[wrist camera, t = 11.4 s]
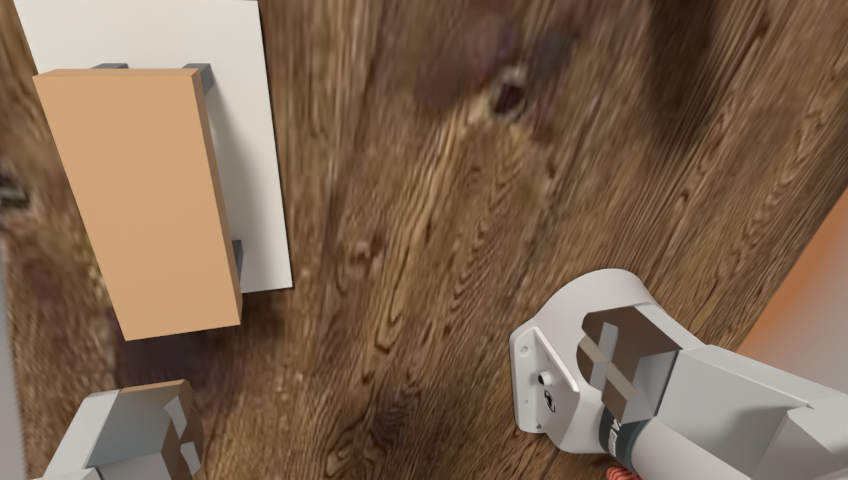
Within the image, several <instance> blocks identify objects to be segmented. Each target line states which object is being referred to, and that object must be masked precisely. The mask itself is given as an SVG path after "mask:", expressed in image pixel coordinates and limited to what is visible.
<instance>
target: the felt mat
mask: <svg viewBox="0 0 848 480" xmlns="http://www.w3.org/2000/svg"><path fill="white" fill-rule="evenodd" d="M14 3H15V6H16V9H17V12H18V15H19V18H20V21H21V23H22V26H23V29H24V32H25V35H26V38H27V41H28V44H29V47H30V50H31V52H32V55H33V58H34V61H35V64H36V67H37V70H38V73H39V74H42V73H45V72H48V71H51V70H55V69H89V68H92V67H95V66H97V65H100V64H102V63H127V66H128V69H156V68H182V67H184V66H185V65H186V64H188V63H210V68H211V73H212V79H213V85H212V87H211V88H210V90H209V91H208V93H207V94H206V95H205V97H204V98H205V103H206V108H207V113H208V119H209V124H210V129H211V135H212V140H213V145H214V151H215V156H216V161H217V166H218V172H219V177H220V182H221V188H222V193H223V198H224V204H225V209H226V214H227V219H228V225H229V230H230V235H231V241H232V240H241V243H242V248H243V262H242V271H241V279H240V288H241V293H247V292H255V291H263V290H271V289H279V288H287V287H292V278H291V270H290V261H289V253H288V245H287V237H286V229H285V221H284V213H283V204H282V196H281V188H280V180H279V172H278V164H277V155H276V147H275V139H274V131H273V123H272V115H271V106H270V98H269V90H268V82H267V74H266V66H265V58H264V49H263V41H262V33H261V25H260V17H259V9H258V1H246V0H14Z"/></svg>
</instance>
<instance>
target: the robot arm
mask: <svg viewBox="0 0 848 480" xmlns="http://www.w3.org/2000/svg"><path fill="white" fill-rule="evenodd" d="M509 346H510V359H511V372H512V385H513V398H514V412H515V422H516V424H517V426H518V427H519V428H520V430H523V431H526V432H532V433H546V434H547V435H548V436H549V438H550V439H551V440H552V442H553V443H554V444H555V445H556V446H557V447H558V448H559V449H561V450H563V451H566V452H569V453H608V454H609V455H610V456H612V457H613V458H614V459H615V460H617V461H618V462H619V463H620V464H622V466H621V467H613V468H609V469H608V470H607V473H606V475H607V478H608V480H638V479H641V478H642V479H643V480H848V395H847V394H844V393H842V392H839V391H836V390H834V389H831V388H828V387H825V386H822V385H820V384H817V383H815V382H812V381H809V380H806V379H804V378H801V377H798V376H796V375H793V374H790V373H788V372H785V371H782V370H779V369H777V368H774V367H771V366H769V365H766V364H763V363H760V362H758V361H755V360H752V359H750V358H747V357H744V356H741V355H739V354H736V353H733V352H731V351H728V350H725V349H723V348H720V347H717V346H714V345H707V346H706V345H705V344H703V343H702V342H701V341H700V340H698V339H697V338H696V337H695V336H693V335H692V334H691V333H690V332H688V331H687V330H686V329H685V328H683V327H682V326H681V325H680V324H678V323H677V322H676V321H675V320H673V319H672V318H671V317H670V316H668V315H667V314H666V312H665V310H664V309H663V308H662V307H661V306H660V305H659V304H658V303H657V302H656V301H655V300H654V299H653V297H652V296H651V295H650V293H649V292H648V291H647V289H646V288H645V286H644V285H643V283H642V282H641V280H640V279H639V278H638V277H637V276H635V275H634V274H632V273H631V272H628V271H626V270H622V269H602V270H597V271H594V272H590V273H588V274H585V275H583V276H581V277H579V278H577V279H575V280H573V281H571V282H570V283H568V284H567V285H565V286H564V287H562V288H561V289H560V290H559V291H558V292H556V293H555V294H554V295H553V296H552V297H551V298H550V299H549V300H548V301H547V302H546V304H545V305H544V306H543V307H542V308H541V310H540V311H539V312H538V313H537V314H536V315H535V316H534V317H533V318H532V319H530V320H529V321H527V322H526V323H524V324H523V325H521V326H520V327H518V328H517V329H516V330H515V331H514V332H513V333H512V334H511V336H510V338H509ZM193 396H194V395H193V392H192V389H191V386H190V383H189V381H187V380H178V381H171V382H164V383H157V384H150V385H143V386H136V387H129V388H124V389H119V390H112V391H105V392H98V393H92V394H90V395H89V396H88V397H86V398H85V399H84V400H83V402H82V404H81V406H80V408H79V409H78V411H77V413H76V415H75V417H74V419H73V421H72V423H71V424H70V426H69V428H68V430H67V432H66V434H65V436H64V438H63V439H62V441H61V443H60V445H59V447H58V449H57V451H56V453H55V454H54V456H53V458H52V460H51V462H50V464H49V466H48V468H47V470H46V471H45V473H44V475H43V477H42V478H38V479H33V480H193V478H192V475H193V474H194V473H195V472H196V471H197V470H198V469H199V467H200V466H201V461H202V456H203V440H204V434H203V427H202V421H201V418H200V414H199V413H198V412H197V411H195V410H194V409H192V408H191V404H192V400H193Z"/></svg>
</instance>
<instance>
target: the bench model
mask: <svg viewBox="0 0 848 480" xmlns="http://www.w3.org/2000/svg"><path fill="white" fill-rule="evenodd" d="M32 78H33V81H34V84H35V86H36V89H37V92H38V95H39V98H40V100H41V103H42V106H43V109H44V112H45V115H46V117H47V120H48V123H49V126H50V129H51V131H52V134H53V137H54V140H55V143H56V146H57V148H58V151H59V154H60V157H61V160H62V163H63V165H64V168H65V171H66V174H67V177H68V179H69V182H70V185H71V188H72V191H73V194H74V196H75V199H76V202H77V205H78V208H79V211H80V213H81V216H82V219H83V222H84V225H85V227H86V230H87V233H88V236H89V239H90V242H91V244H92V247H93V250H94V253H95V256H96V259H97V261H98V264H99V267H100V270H101V273H102V275H103V278H104V281H105V284H106V287H107V290H108V292H109V295H110V298H111V301H112V304H113V306H114V309H115V312H116V315H117V318H118V321H119V323H120V326H121V329H122V332H123V335H124V338H125V340H126V341H128V340H135V339H142V338H149V337H156V336H163V335H170V334H177V333H184V332H191V331H198V330H205V329H212V328H219V327H226V326H233V325H240V322H241V312H242V303H243V299H242V294H241V288H240V279H241V271H242V262H243V248H242V243H241V240H232V241H231V235H230V230H229V225H228V219H227V214H226V209H225V204H224V198H223V193H222V188H221V182H220V177H219V172H218V166H217V161H216V156H215V151H214V145H213V140H212V135H211V129H210V124H209V119H208V113H207V108H206V103H205V98H204V97H205V95H206V94H207V93H208V91H209V90H210V88H211V87H212V85H213V79H212V73H211V68H210V63H188V64H186V65H185V66H184V67H182V68H156V69H128V66H127V63H102V64H100V65H97V66H95V67H92V68H89V69H55V70H51V71H48V72H45V73H42V74H39V75H36V76H33V77H32Z"/></svg>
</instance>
